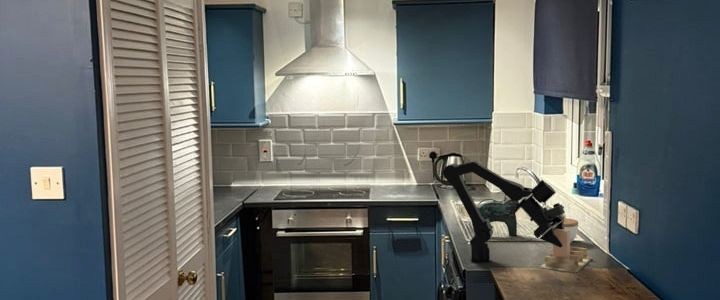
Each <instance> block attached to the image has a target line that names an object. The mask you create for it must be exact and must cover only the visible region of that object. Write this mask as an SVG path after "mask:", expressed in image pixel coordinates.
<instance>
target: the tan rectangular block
mask: <svg viewBox="0 0 720 300" xmlns="http://www.w3.org/2000/svg"><path fill="white" fill-rule="evenodd" d="M554 234H555V235H556V236H557V238H558V239H559V241H560V242H561V243H562V245H563V246H562V247H561V248H560V247H558V246H556V245H554V244H552V248H553V250H552V253H553V257H558V258H567V259H570V247H571V243H570V230H564V229H555V230H554Z"/></svg>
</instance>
